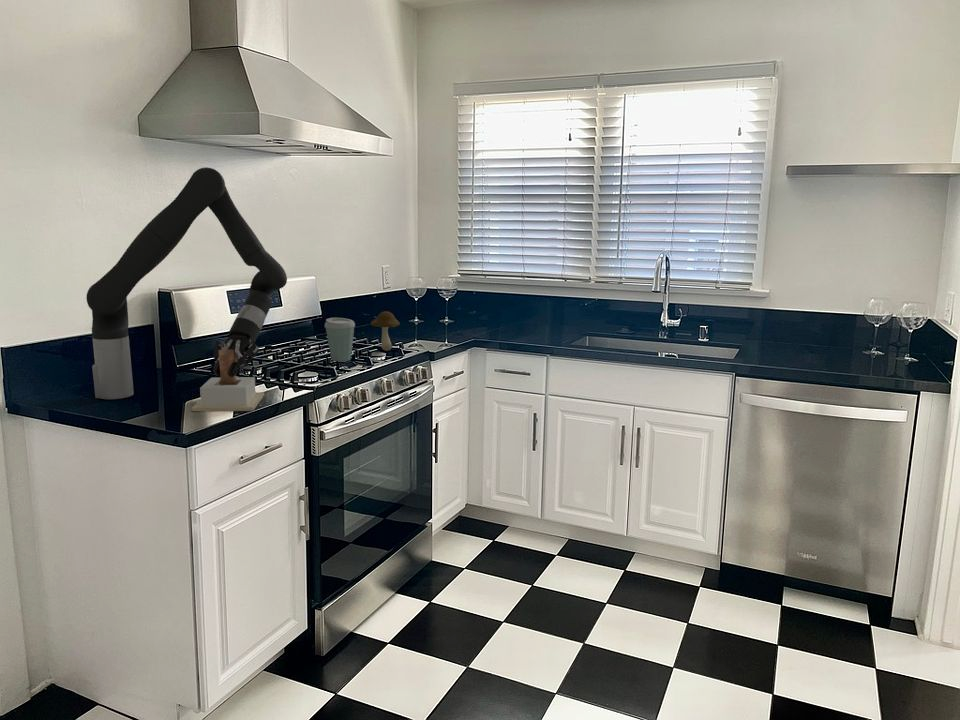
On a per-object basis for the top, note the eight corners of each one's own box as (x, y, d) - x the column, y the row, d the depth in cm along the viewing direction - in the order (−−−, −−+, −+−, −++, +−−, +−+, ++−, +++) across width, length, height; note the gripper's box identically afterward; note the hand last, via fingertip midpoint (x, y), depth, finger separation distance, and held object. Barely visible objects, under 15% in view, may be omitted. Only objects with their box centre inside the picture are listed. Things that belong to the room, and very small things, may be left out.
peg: (219, 391, 207) (216, 352, 204) (223, 387, 211) (220, 349, 208) (234, 391, 207) (232, 351, 205) (237, 387, 211) (235, 348, 209)
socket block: (191, 411, 201) (190, 389, 200) (207, 396, 217) (206, 376, 215) (253, 410, 203) (251, 389, 201) (264, 395, 218) (263, 375, 217)
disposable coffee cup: (359, 358, 269) (358, 317, 266) (351, 365, 259) (350, 322, 256) (330, 357, 270) (329, 316, 267) (321, 364, 260) (320, 321, 257)
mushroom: (379, 347, 290) (378, 308, 287) (405, 350, 285) (404, 310, 282) (366, 351, 282) (365, 311, 279) (391, 354, 277) (391, 314, 274)
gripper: (220, 315, 214) (194, 365, 205) (263, 318, 209) (238, 369, 201) (233, 330, 220) (209, 380, 211) (275, 333, 215) (251, 384, 207)
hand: (223, 374), depth 206 cm, fingers closed on peg, 4 cm apart
